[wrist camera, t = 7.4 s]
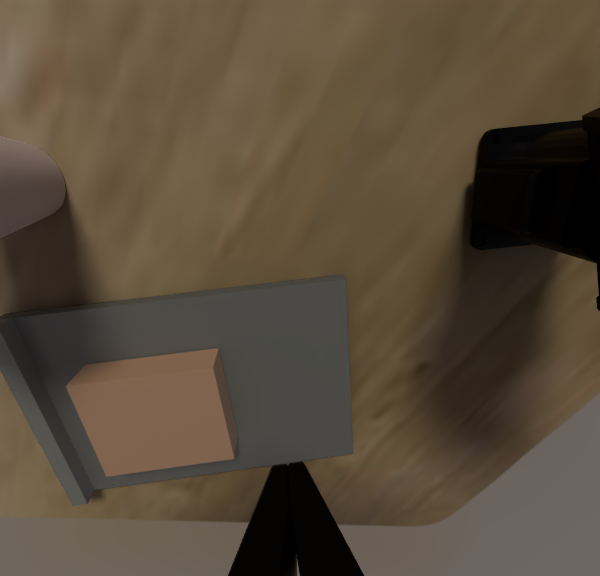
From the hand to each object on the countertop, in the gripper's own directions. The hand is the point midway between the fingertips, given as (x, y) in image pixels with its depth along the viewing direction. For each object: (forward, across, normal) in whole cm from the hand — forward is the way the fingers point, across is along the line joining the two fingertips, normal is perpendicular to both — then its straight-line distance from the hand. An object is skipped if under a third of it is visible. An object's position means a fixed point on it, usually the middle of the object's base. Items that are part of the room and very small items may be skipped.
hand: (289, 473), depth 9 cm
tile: (+10, +4, +6) cm, 12 cm away
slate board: (+12, +6, +6) cm, 15 cm away
